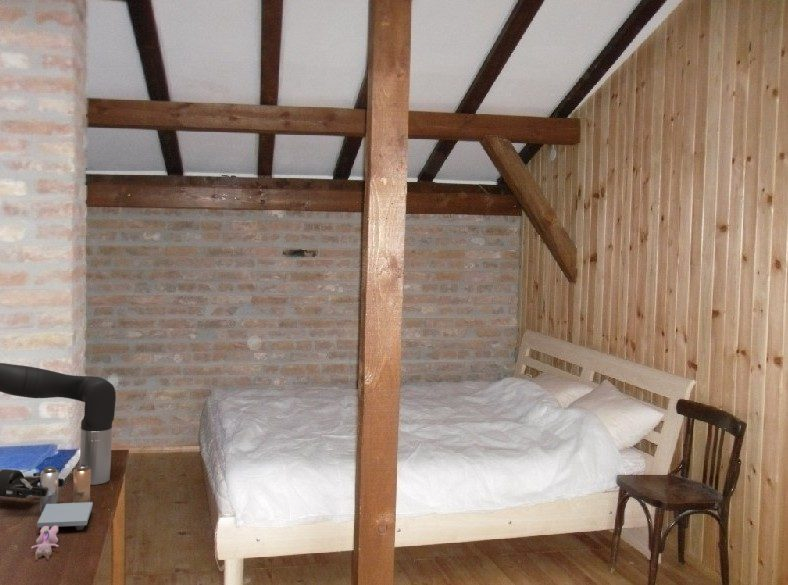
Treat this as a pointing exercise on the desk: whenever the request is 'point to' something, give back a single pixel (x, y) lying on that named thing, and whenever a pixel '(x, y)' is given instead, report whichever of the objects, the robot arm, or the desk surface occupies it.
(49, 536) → the rabbit figure
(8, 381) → the robot arm
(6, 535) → the desk surface
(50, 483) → the steel canister
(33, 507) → the desk surface
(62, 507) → the grey square platform
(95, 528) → the desk surface
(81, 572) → the desk surface
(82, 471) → the copper canister
